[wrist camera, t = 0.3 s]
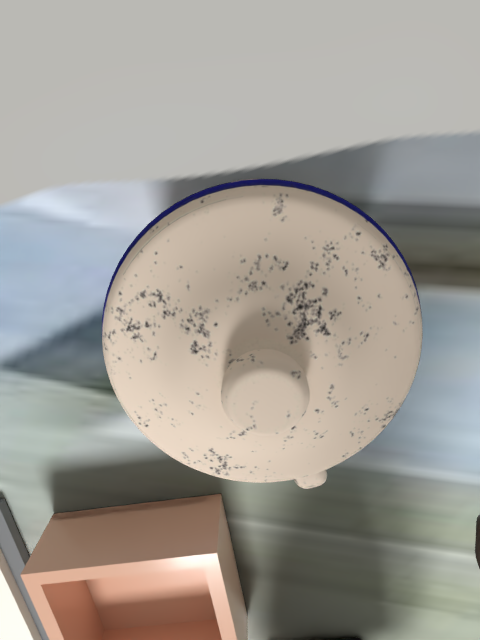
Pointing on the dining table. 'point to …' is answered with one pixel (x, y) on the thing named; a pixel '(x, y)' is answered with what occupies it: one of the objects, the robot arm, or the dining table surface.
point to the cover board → (14, 609)
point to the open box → (139, 573)
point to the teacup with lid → (262, 331)
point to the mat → (17, 559)
